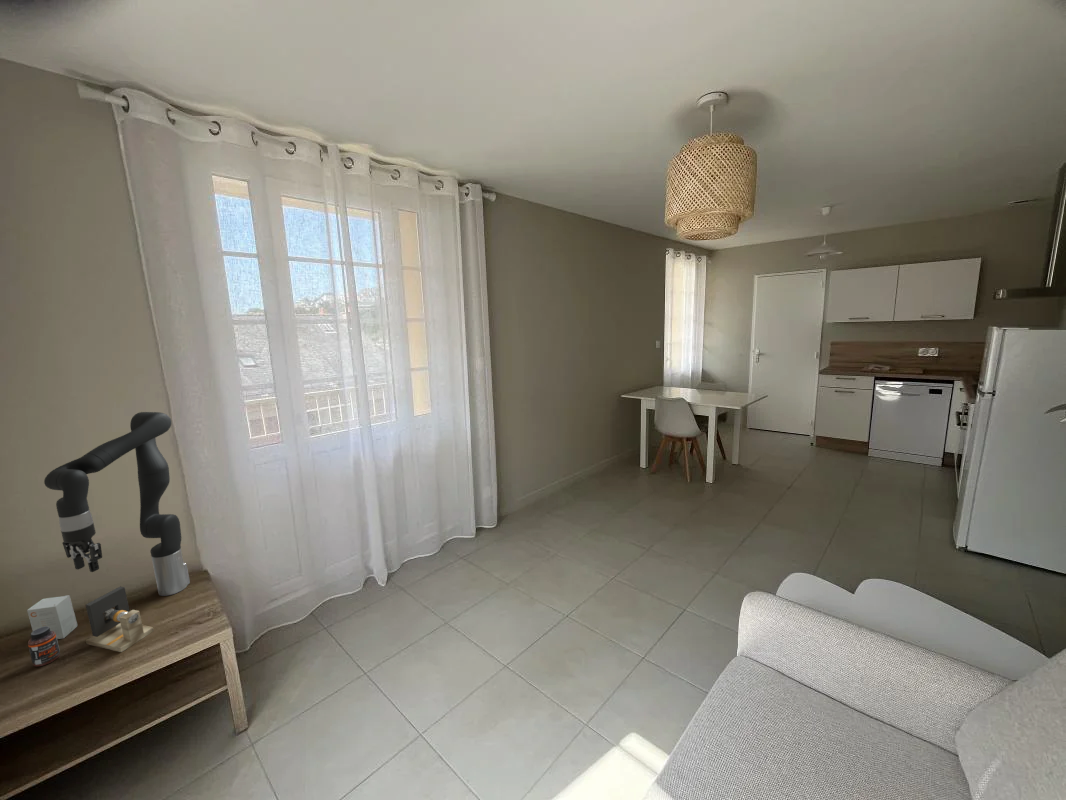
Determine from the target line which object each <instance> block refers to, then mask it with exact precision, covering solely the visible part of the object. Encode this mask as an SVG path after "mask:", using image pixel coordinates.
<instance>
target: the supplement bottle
mask: <svg viewBox="0 0 1066 800" xmlns="http://www.w3.org/2000/svg"><path fill="white" fill-rule="evenodd" d="M27 646H28V650H29V651H28V652H29V655H30V658H31V663H32V665H33V667H42V666H46V665H49V664H50V663H53V662H54V661H55V660H57V659H58V658H59V657H60V656H61V652H60V646H59V642H58V639H57V637H56V634H55V632H54V631H50V628H49V627H48V626H45V627H41V628H38V629H36V630H34V631H32V632H30V638H29V640H28V642H27Z"/></svg>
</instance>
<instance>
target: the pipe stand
mask: <svg viewBox="0 0 1066 800" xmlns="http://www.w3.org/2000/svg"><path fill="white" fill-rule="evenodd" d="M103 615H104V620H105V621H106V620H107V619H111V620H114V621H116V622H120V624H118V625H116V626H115V627H113V628H111V629H110V630H108V631H106V632H105V633H103V634H101V635H100V636H98V637H95V636H93V635H92V636H91V637H89V638H87V639H86V640H85V642H86V645H90V646H94V647H96V648H101V649H106V650H111V651H114V652H119V653H122V652H124V651H125V650H127V649H129V648H130V647H131V646H133V645H135V644H136V643H138V642H140V641H141V640H142V639H144V638H145V637H147V636H148V635H150V634H151V633H154V631H155V629H154V627H153V626H148V625H146V624H145V625H144V624H143V623H142V619H141V618H142V617H141V613H140V610H137V609H136V610H135V609H132V610H130V612H127V611H125V610H115V608H111V609H109V610H107V611H106V612H104V613H103Z"/></svg>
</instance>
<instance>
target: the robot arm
mask: <svg viewBox="0 0 1066 800" xmlns="http://www.w3.org/2000/svg"><path fill="white" fill-rule="evenodd" d="M171 426H172V419H171V417H170V416H169V415H168V414H167V413H164V412H158V411H141V412H140V411H139V412H137V413H136V414H134V415H133V416H132V418H131V420H130V431H129V432H127V433H125V434H123V435H121V436H119V437H116V438H114V439H110V440H109V441H107V442H103V443H102V444H100V445H98V446H96V447H94V448H92V449H91V450H90V451H88V452H87V453H85V454H83V455H82V456H80V457H78V458H76V459H73V460H71V461H68V462H67V463H64V464H62V465H60V466H58V467H55V468H54V469H52V470H51V471H50V472H48V474H47V475H46V476H45V477H44V481H43V484H44V485H45V487H46V488H47V489H50V490H54V491H62V493H63V494H62V497H61V498H58V499H57V500H56V503H55V507H56V511H57V515H58V516H57V517H58V523H59V528H60V533H61V538H62V546H63V549H64V553H65V555H66V557H67V558H68V559H69V558H70V559H71V560H72V561H73V564H74V569H75V570H76V571H77V570H78V571H79V570H81V569H83V568H84V567H85V566H86V564H85V560H86V561H87V565H88V569H89V572H90V573H93V572H94V573H95V572H96V571H98V570H99V569H100V565H99V561H98V560H100V559H102V558H103V553H102V544H101V542H96V543H94V541H93V539H92V538H93V537H94V536H95V535H96V528H95V525H94V519H93V516H92V513H91V510H90V507H89V502H88V494H89V486H90V479H89V477H88V475H89V474H95V473H99V472H100V471H102V470H104V469H105V468H107V467H108V466H109V465H111V464H113V463H114V462H115V461H117V460H118V459H120V458H122V457H123V456H124V455H126V454H128V453H130V452H131V451H133V450H135V458H136V466H137V481H138V487H139V498H140V499H139V501H140V504H139V505H140V510H139V512H140V513H139V532H140V535H141V536H142V537H143V538H145V539H160V542H159V543H157V544H155V545H154V546H152V547H151V549H150V557H151V562H152V567H153V572H154V577H155V581H156V588H157V592H158V596H162V597H164V596H172V595H175V594H177V593H180V592H181V591H183V590H185V589H186V588H187V586H189V584H190V583H191V582H190V581H191V580H190V575H189V570H188V564H187V563H186V562H184V558H183V553H182V552H183V550H182V546H181V544H182V530H181V521H180V518H179V517H178V516H177V515H176V514H171V513H167V514H165V513H163V514H160V509H159V507H160V506H159V505H160V500H161V498H162V496H163V495H164V493H165V492H166V490H167V489H168V487H169V484H170V479H171V477H170V467H169V464H168V462H167V460H166V458H165V457H164V456H163V454H162V452H161V451H160V450H159V447H158V445H157V439H156V438H157V437H159V436H162V435H164V434H166V432H168V431H169V430H170V428H172V427H171ZM84 559H85V560H84Z"/></svg>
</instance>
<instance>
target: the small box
mask: <svg viewBox="0 0 1066 800" xmlns="http://www.w3.org/2000/svg"><path fill="white" fill-rule="evenodd" d="M73 606H74V605H73V602H72V599H71V595H62V596H54V597H47V598H42V599H41V600H39V601H37V602H36V603H34V604H33V605H32V606H30V607H29V608H28V609H26V611H27V612H26V613H27V615H28V618H29V623H30V625H31V630H32V632H33V631H34V630H36V629H38V628H41V627H45V626H48V627H49V628H50V631H54V632H55V634H56V637H57V640H61V639H65V637H67V636H68V635H70V633H72V632H73V631H74V630H75V629H76V628H77V627H78V622H77V618H76V614H75V612H74V611H75V610H74V607H73Z"/></svg>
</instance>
